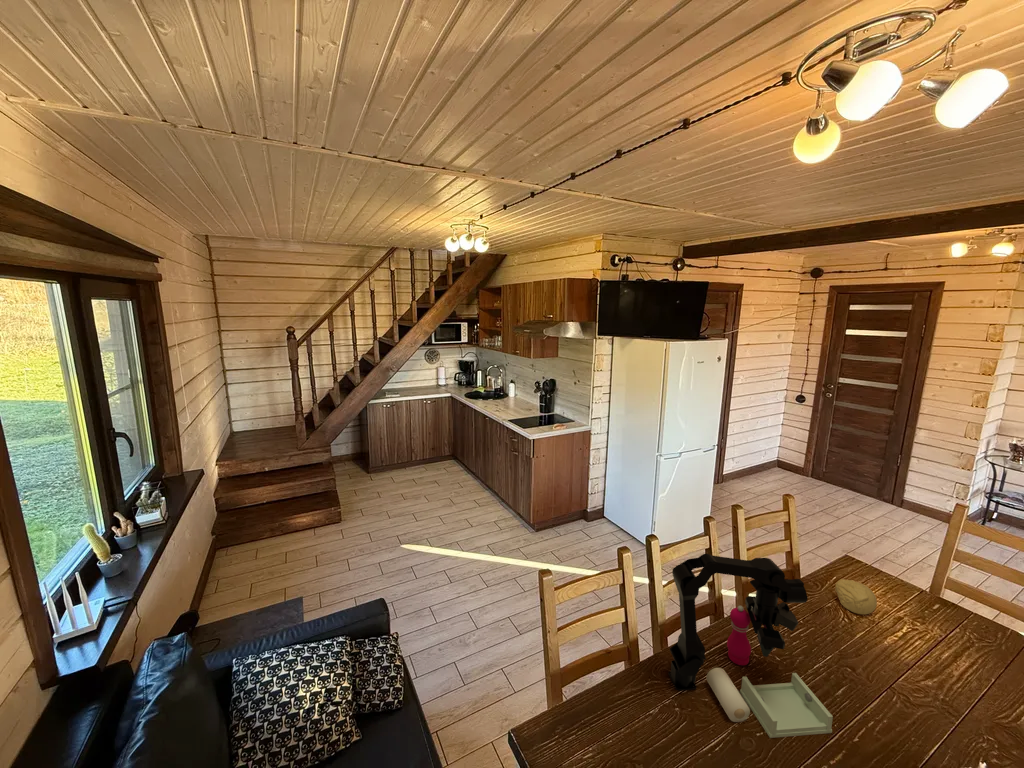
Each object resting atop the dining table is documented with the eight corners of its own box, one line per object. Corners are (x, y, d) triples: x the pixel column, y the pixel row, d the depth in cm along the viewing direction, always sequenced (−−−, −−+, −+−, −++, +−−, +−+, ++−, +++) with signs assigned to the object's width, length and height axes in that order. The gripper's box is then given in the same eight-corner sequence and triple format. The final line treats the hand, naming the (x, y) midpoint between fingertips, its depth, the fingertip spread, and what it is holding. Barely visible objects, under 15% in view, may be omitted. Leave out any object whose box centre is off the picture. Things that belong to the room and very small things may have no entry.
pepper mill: (753, 668, 136) (756, 615, 133) (730, 665, 138) (732, 613, 134) (746, 650, 143) (748, 599, 140) (723, 648, 145) (725, 597, 141)
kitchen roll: (749, 722, 119) (751, 704, 118) (728, 724, 119) (729, 705, 118) (724, 683, 132) (726, 665, 131) (705, 684, 131) (706, 667, 130)
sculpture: (828, 599, 168) (831, 575, 166) (855, 596, 169) (858, 572, 167) (854, 620, 156) (857, 594, 154) (882, 617, 158) (886, 592, 156)
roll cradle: (770, 737, 115) (771, 721, 114) (739, 691, 128) (741, 676, 127) (831, 732, 116) (834, 716, 115) (795, 687, 129) (797, 672, 128)
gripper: (809, 628, 116) (801, 675, 119) (785, 585, 133) (780, 628, 136) (764, 620, 119) (758, 666, 122) (747, 579, 136) (742, 620, 139)
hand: (760, 644), depth 130 cm, fingers open, 9 cm apart
